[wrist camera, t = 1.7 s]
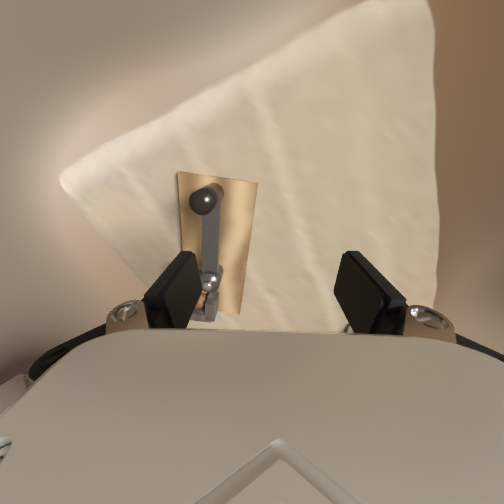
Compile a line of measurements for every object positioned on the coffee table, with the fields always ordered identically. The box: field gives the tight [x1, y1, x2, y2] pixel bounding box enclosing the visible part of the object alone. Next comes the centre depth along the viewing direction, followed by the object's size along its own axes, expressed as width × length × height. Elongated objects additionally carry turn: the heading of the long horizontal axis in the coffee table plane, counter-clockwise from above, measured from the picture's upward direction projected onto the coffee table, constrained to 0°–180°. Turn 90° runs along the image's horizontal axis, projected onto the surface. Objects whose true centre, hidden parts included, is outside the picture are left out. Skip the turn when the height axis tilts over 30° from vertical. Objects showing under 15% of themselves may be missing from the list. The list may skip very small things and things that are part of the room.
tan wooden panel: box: [178, 171, 258, 323], centre depth 34 cm, size 13×30×5 cm, turn 173°
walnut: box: [195, 292, 207, 308], centre depth 39 cm, size 4×4×4 cm
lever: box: [189, 183, 224, 293], centre depth 29 cm, size 10×20×8 cm, turn 172°
